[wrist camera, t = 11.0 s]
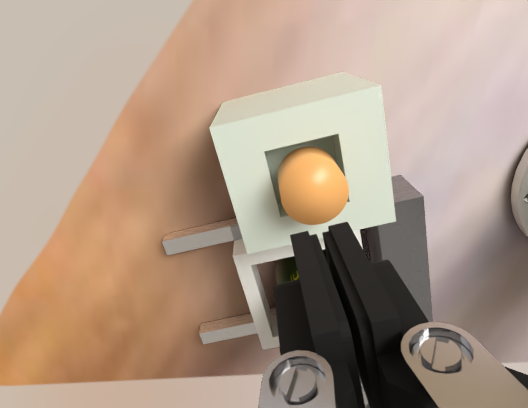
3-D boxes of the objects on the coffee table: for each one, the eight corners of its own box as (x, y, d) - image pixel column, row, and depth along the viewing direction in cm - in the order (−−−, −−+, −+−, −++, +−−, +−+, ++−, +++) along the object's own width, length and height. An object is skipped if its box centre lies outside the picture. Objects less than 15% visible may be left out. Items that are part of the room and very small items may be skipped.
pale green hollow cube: (342, 71, 24) (380, 85, 17) (358, 178, 27) (396, 230, 20) (222, 101, 25) (209, 127, 17) (251, 203, 28) (250, 262, 20)
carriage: (348, 198, 26) (357, 213, 24) (367, 315, 30) (376, 338, 28) (230, 225, 27) (228, 242, 24) (265, 336, 31) (266, 360, 28)
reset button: (332, 139, 18) (343, 154, 16) (341, 195, 19) (353, 216, 17) (271, 154, 18) (273, 170, 16) (284, 208, 19) (288, 231, 17)
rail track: (400, 174, 27) (423, 196, 23) (412, 295, 31) (433, 329, 28) (163, 229, 28) (149, 257, 25) (206, 337, 33) (200, 375, 29)
